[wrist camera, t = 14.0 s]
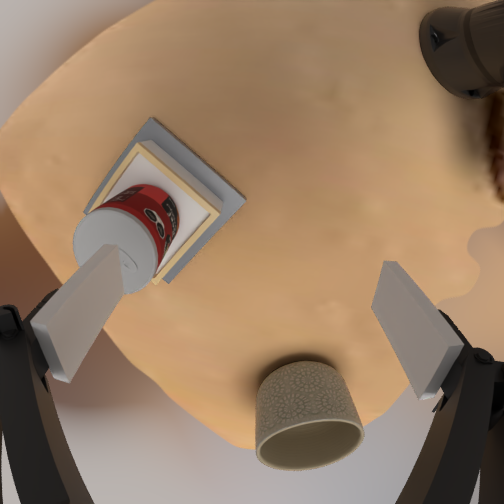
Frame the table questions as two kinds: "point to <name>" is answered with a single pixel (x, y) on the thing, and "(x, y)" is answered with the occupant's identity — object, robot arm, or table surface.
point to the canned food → (130, 232)
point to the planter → (305, 418)
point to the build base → (197, 171)
